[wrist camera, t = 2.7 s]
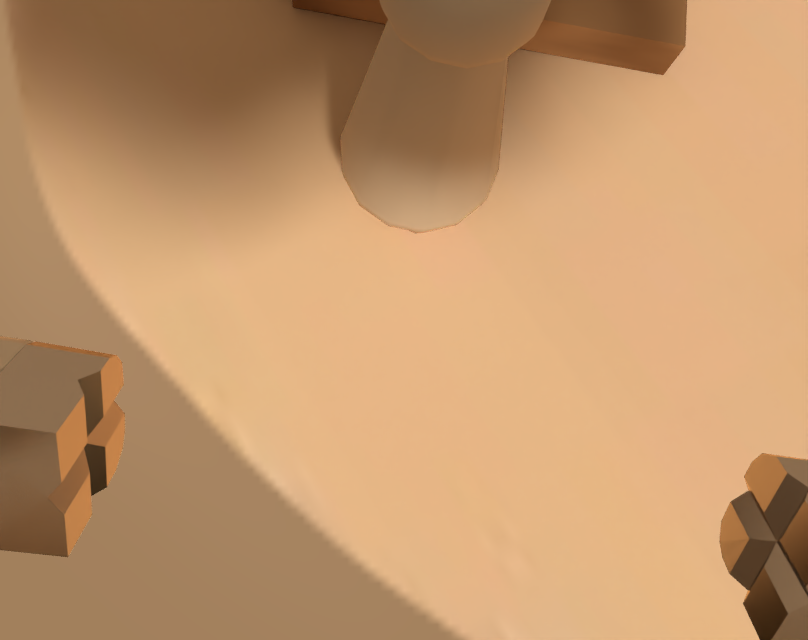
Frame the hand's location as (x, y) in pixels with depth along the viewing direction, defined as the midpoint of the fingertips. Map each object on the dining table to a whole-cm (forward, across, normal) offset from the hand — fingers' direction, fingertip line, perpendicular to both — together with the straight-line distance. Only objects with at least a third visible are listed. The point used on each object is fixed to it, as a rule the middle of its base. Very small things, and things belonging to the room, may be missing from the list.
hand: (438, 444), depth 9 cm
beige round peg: (+20, 0, +4) cm, 21 cm away
